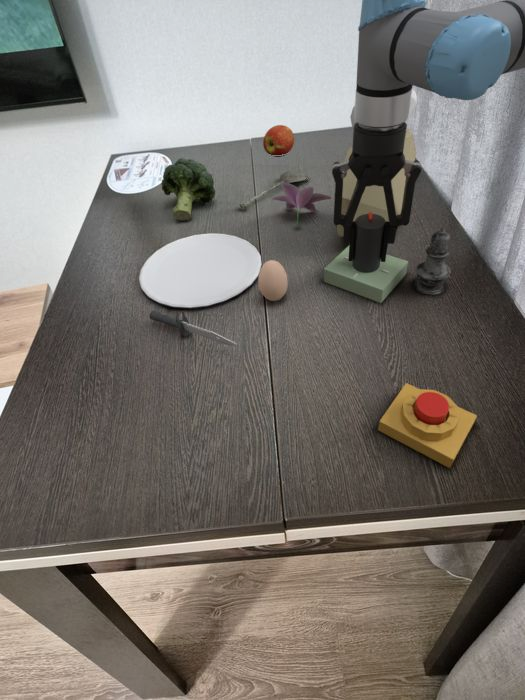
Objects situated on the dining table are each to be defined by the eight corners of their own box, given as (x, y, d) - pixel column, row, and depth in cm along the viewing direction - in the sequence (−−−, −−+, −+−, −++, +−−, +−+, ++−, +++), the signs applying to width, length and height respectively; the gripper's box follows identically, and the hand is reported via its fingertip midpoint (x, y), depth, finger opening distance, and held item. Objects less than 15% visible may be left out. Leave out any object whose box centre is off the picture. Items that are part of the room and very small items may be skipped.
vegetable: (146, 214, 104) (160, 161, 108) (192, 237, 111) (203, 188, 115) (170, 193, 94) (184, 137, 98) (218, 221, 102) (230, 167, 106)
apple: (260, 158, 125) (257, 128, 119) (278, 147, 129) (276, 118, 124) (282, 163, 121) (280, 133, 116) (300, 152, 125) (299, 122, 120)
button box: (473, 424, 59) (481, 407, 56) (449, 468, 55) (457, 452, 52) (403, 392, 64) (408, 374, 61) (377, 430, 60) (380, 413, 57)
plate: (285, 254, 91) (285, 249, 90) (211, 328, 77) (210, 322, 76) (193, 227, 102) (192, 222, 101) (114, 287, 88) (112, 282, 87)
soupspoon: (313, 182, 113) (294, 177, 117) (312, 169, 111) (294, 164, 115) (250, 214, 103) (232, 207, 107) (248, 200, 101) (230, 193, 105)
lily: (337, 225, 99) (336, 180, 96) (305, 228, 91) (304, 178, 88) (295, 227, 107) (293, 185, 104) (262, 230, 98) (260, 184, 96)
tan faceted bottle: (424, 214, 97) (453, 69, 77) (362, 266, 86) (376, 112, 66) (377, 199, 103) (392, 61, 83) (313, 246, 92) (313, 100, 72)
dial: (380, 273, 79) (386, 227, 72) (352, 272, 80) (355, 227, 73) (379, 257, 82) (385, 211, 76) (352, 256, 83) (355, 211, 76)
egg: (254, 300, 81) (249, 263, 76) (273, 286, 84) (269, 249, 78) (276, 311, 79) (272, 274, 73) (294, 296, 81) (292, 259, 75)
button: (451, 408, 57) (454, 400, 56) (438, 430, 55) (441, 422, 54) (421, 395, 59) (424, 387, 58) (408, 415, 57) (410, 407, 56)
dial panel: (406, 274, 83) (408, 260, 81) (381, 303, 78) (382, 289, 76) (350, 255, 89) (351, 242, 86) (323, 281, 84) (323, 268, 81)
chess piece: (450, 294, 78) (467, 235, 69) (417, 297, 78) (429, 238, 70) (441, 274, 82) (455, 216, 73) (409, 277, 82) (420, 219, 74)
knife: (244, 350, 72) (239, 327, 68) (236, 359, 70) (230, 337, 67) (160, 320, 81) (152, 298, 77) (151, 327, 79) (142, 306, 76)
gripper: (443, 110, 64) (416, 246, 81) (319, 114, 67) (318, 244, 84) (449, 129, 59) (420, 270, 76) (315, 133, 62) (315, 268, 79)
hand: (366, 257), depth 80 cm, fingers closed on dial, 5 cm apart
